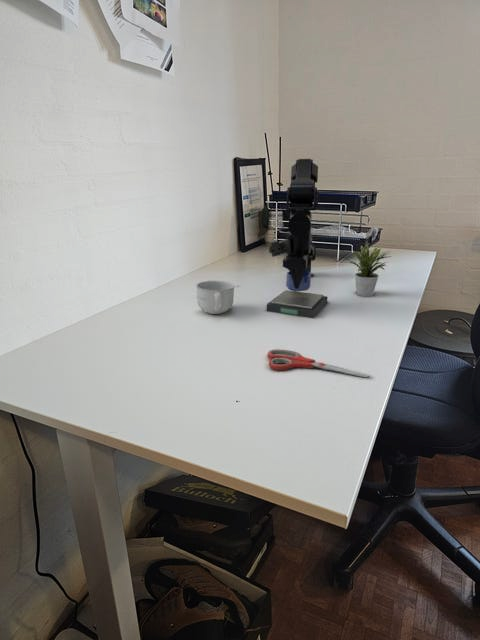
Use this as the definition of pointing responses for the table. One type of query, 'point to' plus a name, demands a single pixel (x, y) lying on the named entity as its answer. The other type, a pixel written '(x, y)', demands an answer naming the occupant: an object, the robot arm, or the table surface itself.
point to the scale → (297, 308)
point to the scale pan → (298, 299)
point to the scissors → (302, 362)
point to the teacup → (215, 296)
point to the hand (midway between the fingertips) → (298, 284)
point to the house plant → (367, 270)
